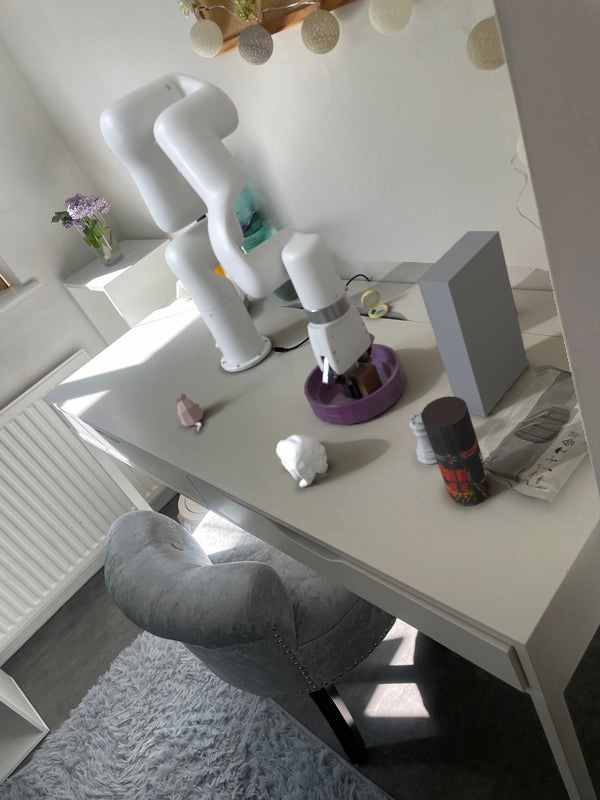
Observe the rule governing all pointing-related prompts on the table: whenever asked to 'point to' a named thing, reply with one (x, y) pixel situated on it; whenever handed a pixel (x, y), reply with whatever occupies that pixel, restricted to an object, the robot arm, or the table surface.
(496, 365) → the upright grey slab
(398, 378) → the bowl
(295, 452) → the white lumpy piece
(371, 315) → the eyeshadow
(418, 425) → the rook chess piece
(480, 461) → the deodorant
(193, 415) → the mouse figurine
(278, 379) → the table surface
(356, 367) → the brown rectangular block
